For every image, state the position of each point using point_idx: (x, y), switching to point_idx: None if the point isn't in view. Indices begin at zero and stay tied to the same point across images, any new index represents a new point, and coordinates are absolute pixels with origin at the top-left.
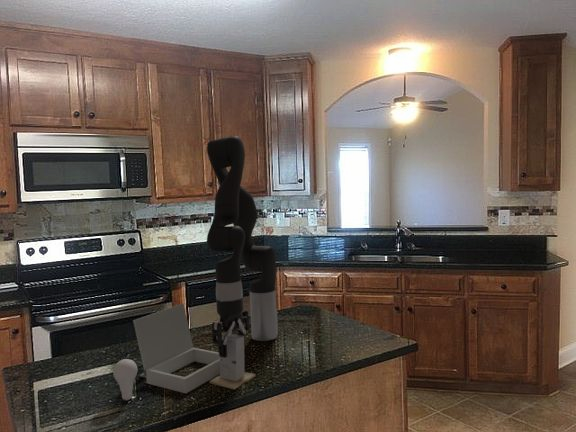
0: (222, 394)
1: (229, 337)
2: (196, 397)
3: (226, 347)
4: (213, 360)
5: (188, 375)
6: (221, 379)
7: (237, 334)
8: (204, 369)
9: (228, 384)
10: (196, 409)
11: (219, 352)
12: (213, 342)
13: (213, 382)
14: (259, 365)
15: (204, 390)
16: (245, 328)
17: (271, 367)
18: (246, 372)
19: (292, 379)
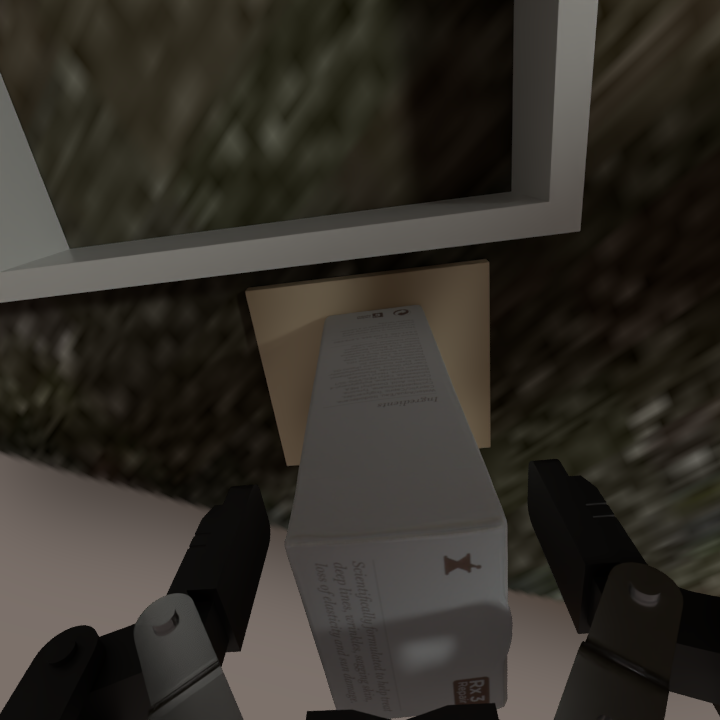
0: (208, 447)
1: (349, 652)
2: (84, 365)
3: (246, 615)
4: (527, 23)
5: (36, 270)
6: (313, 338)
7: (583, 570)
8: (209, 276)
9: (291, 418)
10: (23, 456)
11: (198, 538)
12: (45, 665)
13: (253, 326)
14: (648, 358)
15: (167, 336)
16: (710, 691)
17: (642, 435)
18: (485, 391)
19: (534, 587)
